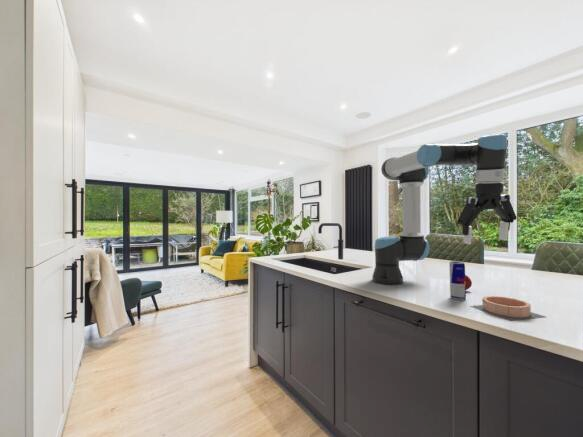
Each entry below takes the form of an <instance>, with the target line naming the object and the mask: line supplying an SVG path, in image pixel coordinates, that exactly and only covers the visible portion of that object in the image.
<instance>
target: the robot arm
mask: <svg viewBox="0 0 583 437" xmlns="http://www.w3.org/2000/svg"><path fill="white" fill-rule="evenodd" d="M507 138H508V137H507V135H506V134H503V133H501V134H500V133H499V134H489V135H481V136H479V138H478V141H477V143H469V144H465V143H463V144H462V143H461V144H455V143H454V144H453V143H451V144H449V143H444V144H443V143H427V144H426V143H425V144H423V145H420V147H419V148H418V150H416V151H413V152H410V153H408V154H404V155H401V156H399V157H395V156H393V157H390V158H388V159H385V161H383V163H382V165H381V168H380V169H381V170H380V171H381V174H382V175H383V177H384V178H385V179H388V180H390V181H399V183H398V184H399V186H400V187H402V189H401V190H402V232H401V233H400V234H399V236H396V235H391V236H383V237H378V238H376V239H375V241H374V256H375V258H374V259H375V260H374V261H375V266H374V270H373V273H372V282H374V283H376V282H377V283H376V284H381V283H382V285H400V284H403V283H404V277H403V274H402V271H401V269H400V262H404V261H405V262H406V261H414V262H417V261H421V260H425V259H426V257H428V255H429V253H430V243H429V241H428V240H427V239H426V238H425V235H424V234H423V233H422V232H421V229H422V227H421V223H422V222H421V221H422V220H421V218H422V217H421V216H422V215H421V186H423V184H424V181H425V180H427V178H429V177H428V175H429V173H430V168H429V167H435V166H463V167H464V166H473V165H474V166H475V165H476V171H475V172H476V174H475V182H476V183H475V187H474V188H475V191H474V192H475V195H476V196H475V197H471V196H470V197H469V196H468V197H467V198H466V203H465V205H464V207H463V209H462V211H461V213H460V215H459V216H458V219H457V221H456V223H457V224H458V225H461V226H462V227H461V228H462V230H461V231H462V232H461V233H462V235H463V240H462V241H463V243H464V244H467V245H472V234H473V233H472V232H473V226H472V223H473V222H474V221H475V220H476V219H477V218H478V216H479V215H480V214H481V213H482V212H484V211H485V210H489V209H491V210H494V211H495V213H496V214H497V216H498V217H499V218H500V219H501V220H500V221H499V228H498V229H499V230H498V240H502V241H504V242H505V241H508V236H509V231H510V229H511V227H510V226H511V224H513V223H514V221H516V220H517V219H518V218H517V215H516V213H515V210H514V208H513V205H512V202H511V196H510V194H506V193H504V194H503V192H504V182H503V181H504V177H505V168H506V158H507V157H506V155H507V150H508V143H507V142H508V141H507Z"/></svg>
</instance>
